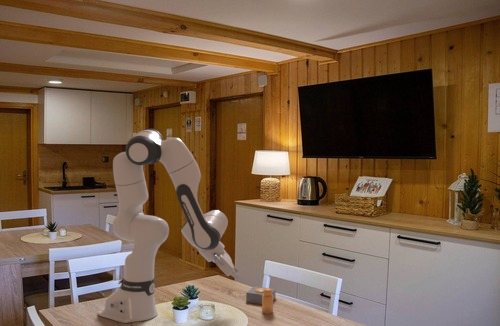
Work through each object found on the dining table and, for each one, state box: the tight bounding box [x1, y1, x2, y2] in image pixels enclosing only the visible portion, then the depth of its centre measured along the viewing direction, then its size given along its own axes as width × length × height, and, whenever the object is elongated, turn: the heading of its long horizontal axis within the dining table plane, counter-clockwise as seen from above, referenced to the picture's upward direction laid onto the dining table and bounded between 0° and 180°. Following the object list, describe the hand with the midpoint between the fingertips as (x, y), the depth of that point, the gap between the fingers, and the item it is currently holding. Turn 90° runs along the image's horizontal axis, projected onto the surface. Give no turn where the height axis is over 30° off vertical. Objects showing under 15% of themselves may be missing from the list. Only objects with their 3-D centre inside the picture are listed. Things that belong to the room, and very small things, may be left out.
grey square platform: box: [245, 285, 277, 305], centre depth 193 cm, size 10×10×4 cm
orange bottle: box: [261, 287, 274, 315], centre depth 178 cm, size 4×4×9 cm
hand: (238, 275), depth 176 cm, fingers open, 8 cm apart
